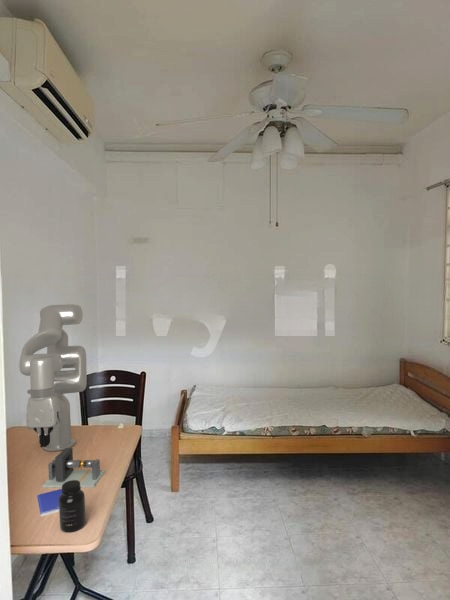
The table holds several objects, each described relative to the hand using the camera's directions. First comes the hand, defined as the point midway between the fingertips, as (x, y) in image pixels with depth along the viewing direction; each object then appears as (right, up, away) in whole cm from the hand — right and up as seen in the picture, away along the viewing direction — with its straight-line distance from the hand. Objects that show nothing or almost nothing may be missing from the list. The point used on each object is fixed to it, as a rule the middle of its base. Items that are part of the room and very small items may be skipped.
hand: (44, 445), depth 140 cm
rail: (+10, -12, +1) cm, 16 cm away
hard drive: (+9, -13, -14) cm, 22 cm away
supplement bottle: (+20, -13, -27) cm, 36 cm away
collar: (+7, -11, +1) cm, 12 cm away
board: (+10, -12, +1) cm, 16 cm away
